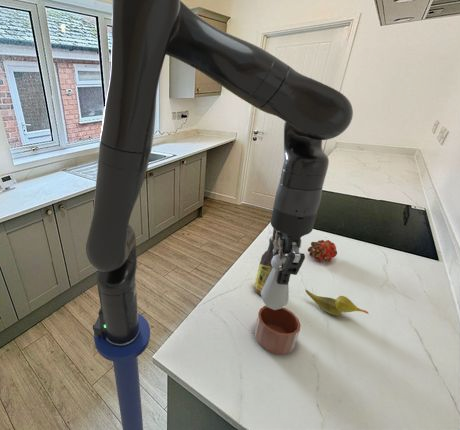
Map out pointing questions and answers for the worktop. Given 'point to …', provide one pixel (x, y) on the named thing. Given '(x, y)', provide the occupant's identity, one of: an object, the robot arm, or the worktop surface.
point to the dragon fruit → (322, 250)
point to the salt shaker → (275, 288)
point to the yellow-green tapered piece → (335, 304)
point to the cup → (277, 330)
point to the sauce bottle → (264, 268)
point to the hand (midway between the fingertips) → (279, 275)
